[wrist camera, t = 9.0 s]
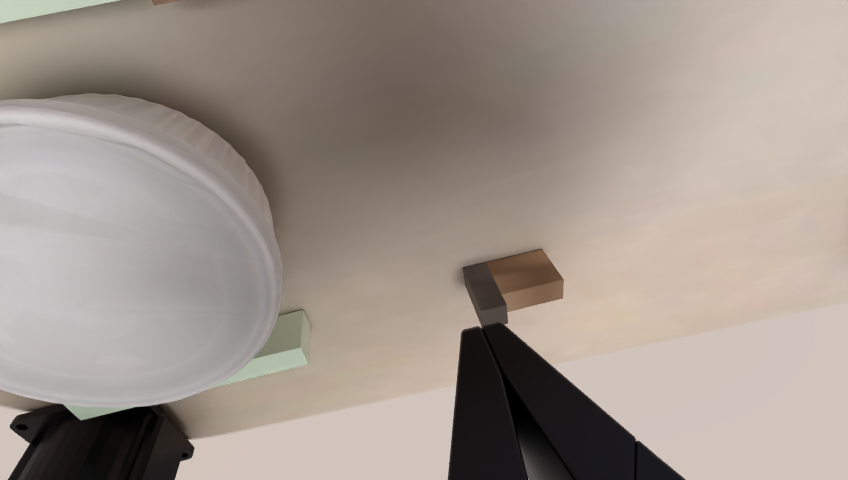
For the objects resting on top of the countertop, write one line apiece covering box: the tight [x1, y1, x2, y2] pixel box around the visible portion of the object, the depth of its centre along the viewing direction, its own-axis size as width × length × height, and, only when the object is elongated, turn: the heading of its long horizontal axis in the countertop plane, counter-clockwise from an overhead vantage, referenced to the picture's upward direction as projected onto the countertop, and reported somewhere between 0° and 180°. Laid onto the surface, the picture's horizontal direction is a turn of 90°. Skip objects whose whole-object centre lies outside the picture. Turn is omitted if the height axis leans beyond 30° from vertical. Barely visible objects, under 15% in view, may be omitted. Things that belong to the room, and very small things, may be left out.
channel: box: [152, 0, 564, 326], centre depth 16 cm, size 12×16×3 cm
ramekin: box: [0, 93, 284, 408], centre depth 15 cm, size 11×11×5 cm
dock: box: [0, 0, 311, 420], centre depth 16 cm, size 10×16×2 cm, turn 9°
